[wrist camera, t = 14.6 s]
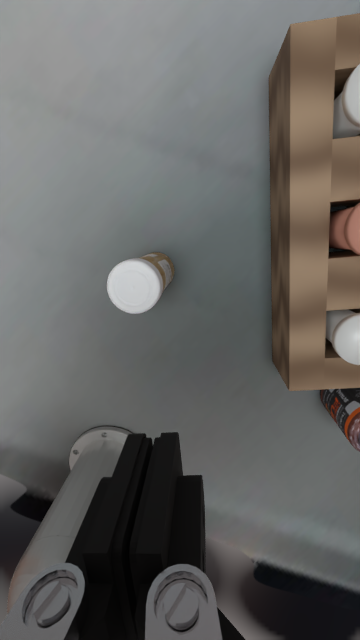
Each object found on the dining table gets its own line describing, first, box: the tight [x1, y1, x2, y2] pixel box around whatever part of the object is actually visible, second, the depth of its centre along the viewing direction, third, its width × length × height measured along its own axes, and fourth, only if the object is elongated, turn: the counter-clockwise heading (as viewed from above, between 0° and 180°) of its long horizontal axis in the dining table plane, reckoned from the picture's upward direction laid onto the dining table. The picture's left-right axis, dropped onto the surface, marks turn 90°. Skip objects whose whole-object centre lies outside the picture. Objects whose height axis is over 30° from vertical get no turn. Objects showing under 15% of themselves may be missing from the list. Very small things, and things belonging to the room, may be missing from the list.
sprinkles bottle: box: [107, 252, 174, 314], centre depth 31 cm, size 5×5×13 cm
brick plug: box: [329, 203, 360, 255], centre depth 28 cm, size 5×5×10 cm
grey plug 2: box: [325, 309, 360, 365], centre depth 32 cm, size 5×5×10 cm
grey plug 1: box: [333, 64, 360, 139], centre depth 27 cm, size 5×5×10 cm
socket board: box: [269, 13, 360, 391], centre depth 31 cm, size 32×12×8 cm, turn 5°
